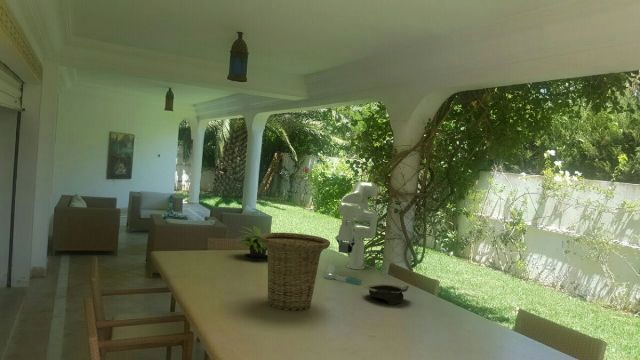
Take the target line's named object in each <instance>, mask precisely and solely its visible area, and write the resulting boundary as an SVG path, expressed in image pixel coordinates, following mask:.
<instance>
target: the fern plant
mask: <svg viewBox="0 0 640 360" xmlns="http://www.w3.org/2000/svg"><path fill="white" fill-rule="evenodd" d="M252 226H253V227H252V228H253V229H252V230H251V229H250V228H248V227H245V226H243V228H244V229H247V230H248V231H249V232H247V234H246V231H243V233H244V235H241V236H240V238H241V240H239V238H237V237H234V238H237V239H236V242H235V241H234V243H236V244H237V243H238V244H237V245H236V247H238V246H239V247H240V246H242V247H241V250H242V249H244V248H246V252H248V251H249V253H246V254H244V257H243V258H244V259H245V260H247V261H251V262H258V263H259V262H260V263H261V262H268V254H267V251H268V250H267V246H266V245H265V244H264V243H262V242H261V241H260V236H261V235H262V233H261V228H259V227H257V226H255V225H252ZM239 232H240V233H242V230H241V231H240V230H239ZM250 232H251V233H250ZM252 233H253V234H252Z"/></svg>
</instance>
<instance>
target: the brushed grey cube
mask: <svg viewBox="0 0 640 360" xmlns="http://www.w3.org/2000/svg"><path fill="white" fill-rule="evenodd" d="M349 246H350V244H349V242H348V241H343V242H339V244H338V253H341V254H350V253H352V252H350V253H349Z"/></svg>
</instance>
